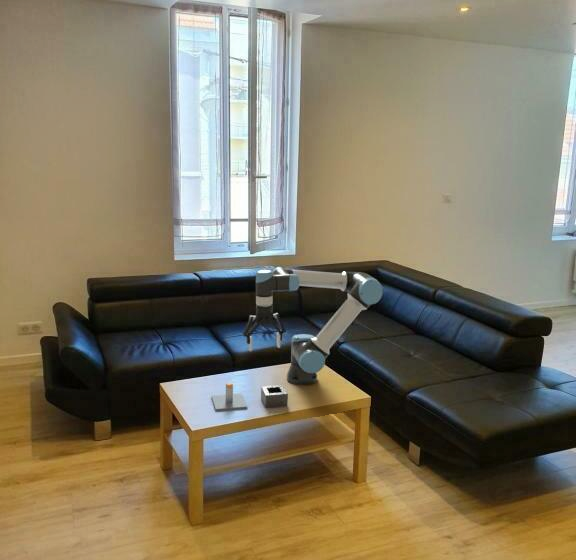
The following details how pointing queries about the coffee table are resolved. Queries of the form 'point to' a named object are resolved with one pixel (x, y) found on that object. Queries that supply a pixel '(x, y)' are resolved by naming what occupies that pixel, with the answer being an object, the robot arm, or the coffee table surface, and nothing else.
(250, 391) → the coffee table surface
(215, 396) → the keeper
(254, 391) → the coffee table surface
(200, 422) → the coffee table surface
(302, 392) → the coffee table surface
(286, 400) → the hollow square block
